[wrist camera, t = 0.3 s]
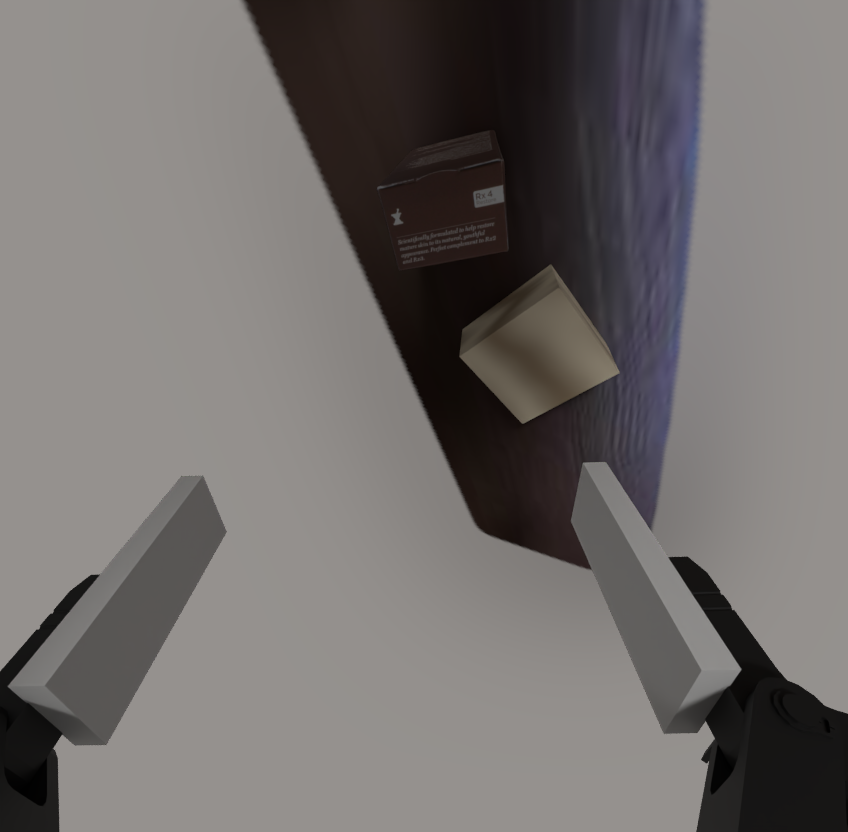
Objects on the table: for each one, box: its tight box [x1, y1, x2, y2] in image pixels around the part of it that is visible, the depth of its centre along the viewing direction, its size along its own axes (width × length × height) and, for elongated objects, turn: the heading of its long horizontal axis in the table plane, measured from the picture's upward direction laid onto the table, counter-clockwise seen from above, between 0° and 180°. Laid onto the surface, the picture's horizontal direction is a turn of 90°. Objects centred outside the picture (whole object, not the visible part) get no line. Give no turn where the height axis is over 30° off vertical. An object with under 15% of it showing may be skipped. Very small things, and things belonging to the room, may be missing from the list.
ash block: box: [459, 265, 620, 424], centre depth 33 cm, size 9×9×5 cm
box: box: [377, 130, 509, 270], centre depth 23 cm, size 6×4×12 cm
